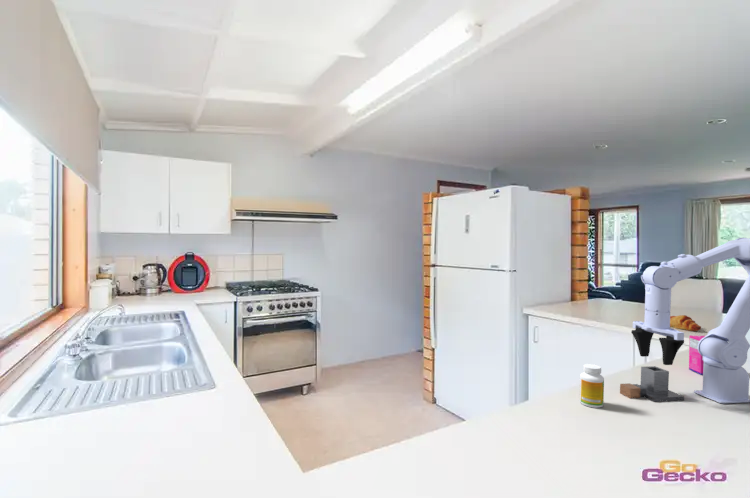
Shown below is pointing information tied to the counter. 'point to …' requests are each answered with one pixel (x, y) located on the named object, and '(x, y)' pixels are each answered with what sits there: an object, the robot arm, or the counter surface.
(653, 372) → the hollow square tube
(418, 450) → the counter surface
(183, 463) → the counter surface
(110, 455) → the counter surface
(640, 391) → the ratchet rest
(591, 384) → the supplement bottle
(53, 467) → the counter surface
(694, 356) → the supplement box
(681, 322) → the croissant
